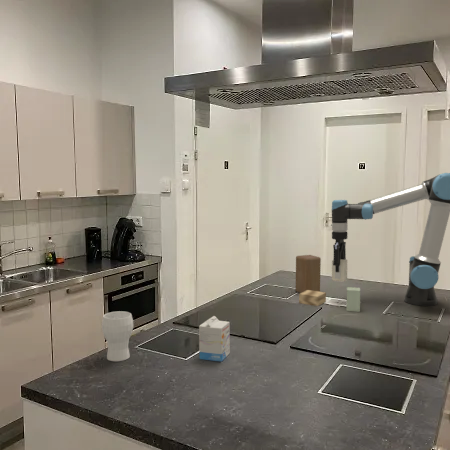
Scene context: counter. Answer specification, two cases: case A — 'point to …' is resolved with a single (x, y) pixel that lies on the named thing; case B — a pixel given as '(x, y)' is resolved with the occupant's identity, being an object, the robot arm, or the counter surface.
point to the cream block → (343, 271)
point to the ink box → (214, 340)
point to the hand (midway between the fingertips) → (339, 277)
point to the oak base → (312, 297)
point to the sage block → (353, 299)
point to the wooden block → (307, 273)
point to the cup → (117, 334)
